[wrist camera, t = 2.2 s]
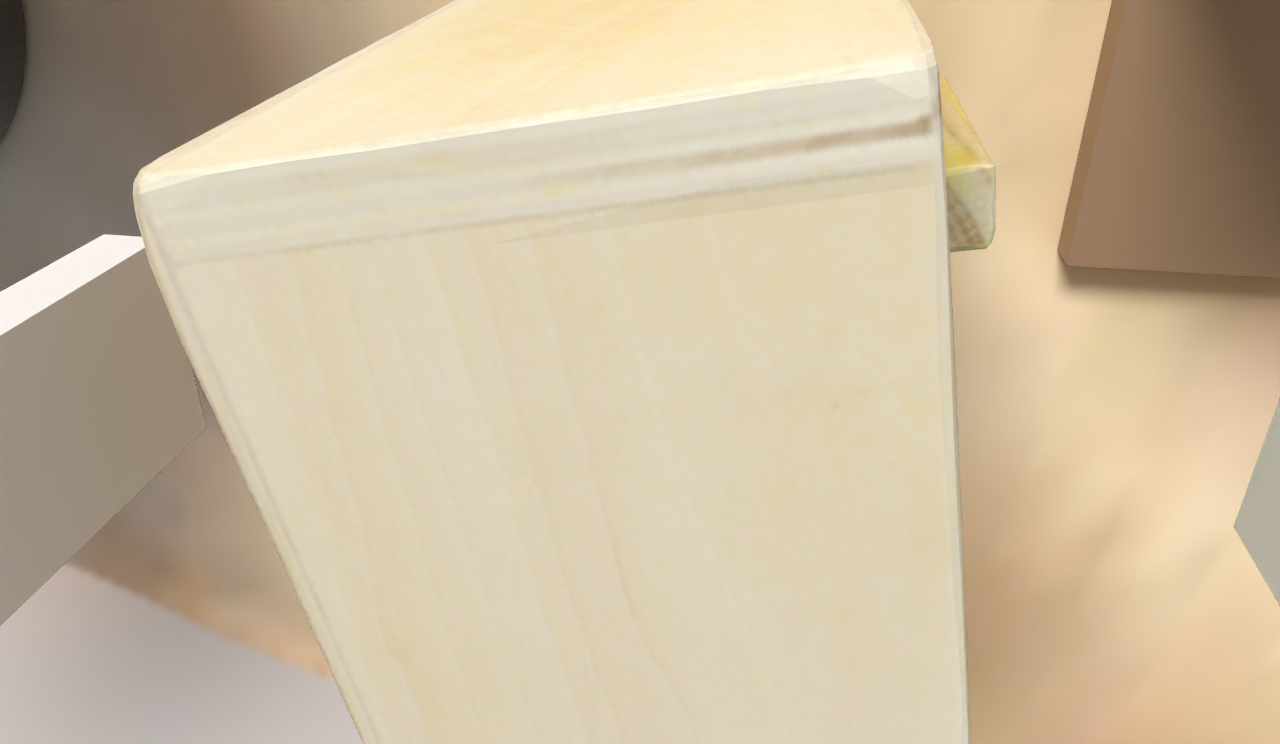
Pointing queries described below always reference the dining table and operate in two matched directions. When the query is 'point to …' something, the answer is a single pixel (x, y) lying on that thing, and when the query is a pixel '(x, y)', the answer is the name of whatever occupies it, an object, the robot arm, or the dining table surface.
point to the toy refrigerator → (601, 367)
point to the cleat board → (1181, 142)
